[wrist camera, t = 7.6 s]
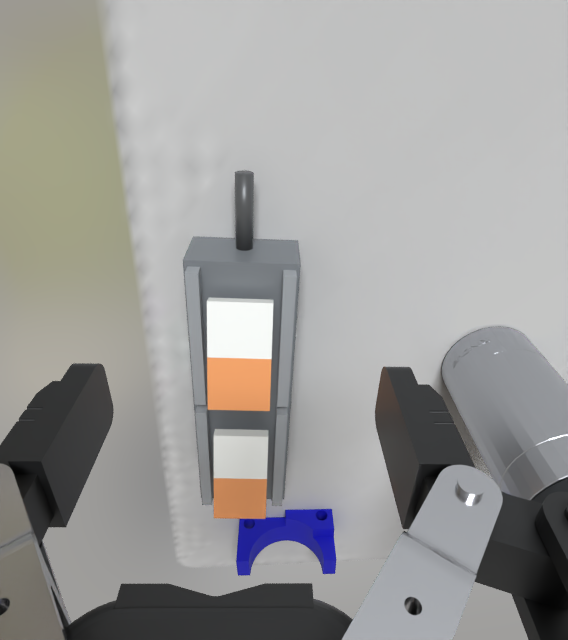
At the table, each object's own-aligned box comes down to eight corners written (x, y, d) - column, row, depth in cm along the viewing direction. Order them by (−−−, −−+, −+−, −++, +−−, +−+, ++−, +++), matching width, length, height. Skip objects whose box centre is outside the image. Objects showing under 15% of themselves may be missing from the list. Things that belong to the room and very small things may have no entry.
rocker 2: (215, 428, 42) (213, 435, 41) (268, 430, 42) (268, 436, 41) (215, 509, 44) (213, 518, 43) (265, 510, 45) (265, 518, 43)
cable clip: (331, 507, 58) (336, 552, 53) (330, 529, 60) (335, 573, 55) (239, 509, 58) (235, 554, 53) (241, 530, 60) (237, 575, 55)
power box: (188, 164, 35) (173, 184, 30) (302, 169, 36) (306, 190, 30) (207, 461, 53) (199, 507, 48) (283, 463, 53) (284, 508, 48)
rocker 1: (208, 297, 35) (206, 301, 34) (273, 299, 35) (273, 303, 34) (209, 402, 37) (207, 409, 36) (269, 404, 37) (269, 411, 36)
